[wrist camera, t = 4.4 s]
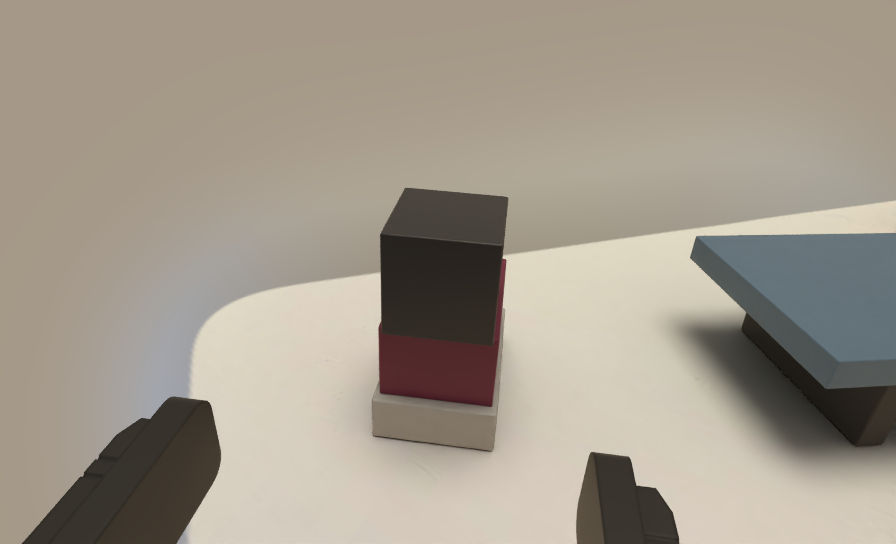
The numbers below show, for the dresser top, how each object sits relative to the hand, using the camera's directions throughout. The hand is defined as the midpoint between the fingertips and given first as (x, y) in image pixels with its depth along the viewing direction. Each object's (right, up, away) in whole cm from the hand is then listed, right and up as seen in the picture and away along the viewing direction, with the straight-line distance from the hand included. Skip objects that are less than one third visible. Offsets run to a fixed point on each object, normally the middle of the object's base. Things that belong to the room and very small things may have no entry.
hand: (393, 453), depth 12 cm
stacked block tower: (+1, -1, +13) cm, 13 cm away
